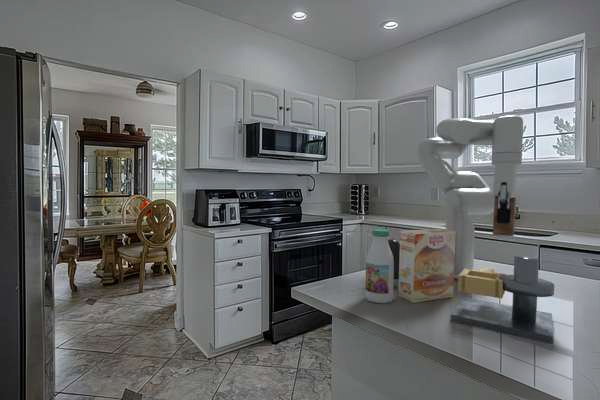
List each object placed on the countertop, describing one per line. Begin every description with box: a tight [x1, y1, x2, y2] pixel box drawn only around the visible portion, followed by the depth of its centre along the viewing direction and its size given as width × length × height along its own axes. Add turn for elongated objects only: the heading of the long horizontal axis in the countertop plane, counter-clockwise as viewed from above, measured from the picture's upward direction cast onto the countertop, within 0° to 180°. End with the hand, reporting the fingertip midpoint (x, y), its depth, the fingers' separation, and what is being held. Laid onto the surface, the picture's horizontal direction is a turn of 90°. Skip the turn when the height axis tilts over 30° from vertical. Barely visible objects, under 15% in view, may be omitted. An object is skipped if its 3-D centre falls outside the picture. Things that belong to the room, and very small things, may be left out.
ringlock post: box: [450, 255, 555, 345], centre depth 84 cm, size 20×16×16 cm
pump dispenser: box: [388, 238, 400, 289], centre depth 111 cm, size 10×10×15 cm
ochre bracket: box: [457, 267, 507, 300], centre depth 89 cm, size 10×14×4 cm, turn 144°
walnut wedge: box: [492, 196, 517, 237], centre depth 101 cm, size 5×4×11 cm
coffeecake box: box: [397, 228, 456, 303], centre depth 101 cm, size 15×7×20 cm, turn 112°
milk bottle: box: [364, 228, 394, 304], centre depth 98 cm, size 8×8×20 cm
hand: (504, 221), depth 101 cm, fingers closed on walnut wedge, 4 cm apart
